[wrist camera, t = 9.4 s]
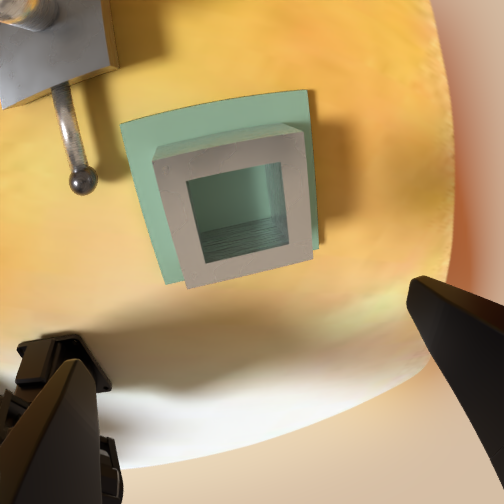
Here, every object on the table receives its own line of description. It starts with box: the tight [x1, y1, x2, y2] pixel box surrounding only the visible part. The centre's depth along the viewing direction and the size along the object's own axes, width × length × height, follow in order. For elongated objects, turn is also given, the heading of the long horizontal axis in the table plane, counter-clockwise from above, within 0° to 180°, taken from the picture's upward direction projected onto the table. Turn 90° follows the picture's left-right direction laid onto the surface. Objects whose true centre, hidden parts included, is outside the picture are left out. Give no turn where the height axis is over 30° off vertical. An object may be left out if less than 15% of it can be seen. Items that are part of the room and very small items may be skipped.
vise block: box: [0, 0, 120, 196], centre depth 10 cm, size 14×6×7 cm, turn 8°
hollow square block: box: [152, 123, 313, 289], centre depth 16 cm, size 7×7×4 cm
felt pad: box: [120, 90, 319, 285], centre depth 18 cm, size 10×10×1 cm
